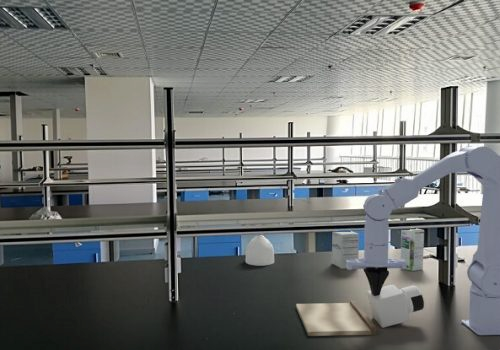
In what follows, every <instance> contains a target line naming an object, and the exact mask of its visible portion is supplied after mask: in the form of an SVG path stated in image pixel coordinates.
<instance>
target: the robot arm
mask: <svg viewBox="0 0 500 350" xmlns="http://www.w3.org/2000/svg"><path fill="white" fill-rule="evenodd" d="M457 173H458V174H460V173H462V174H463V173H465V174H468V175H470V176H472V177H473V178H474V179H475V180H477V182H478V183H480V184H481V186H482V187H483V188H482V189H483V190H482V200H481V210H480V220H479V230H478V240H477V249H476V251H475V252H474V254H473V255H472V260H471V263H470V264H469V265H468V268H467V270H466V275H467V277H468V279H469V281H470V282H471V285H470V287H469V309H468V310H469V311H468V313H469V315H468V319H461V323H462V324H463V325H465V326H466V327H467V328H469V329H470V330H471V331H473V332H474V333H475V334H477V335H478V336H497V335H498V336H500V155H499V154H498V153H496V151H494V150H493V149H492V148H490V147H489V146H484V145H483V146H482V145H481V146H471V145H470V146H464V147H462V148H461V149H459V150H456V151H453V152H451V153H450V154H448V155H446V156H445V157H443V158H441V159H439V160H438V161H436V162H435V163H433V164H432V165H430V166H429V167H427V168H426V169H425V170H423V171H421V172H420V173H418V174H417V175H414V176H413V177H412V178H411V177H407V176H403V177H397V178H394V182H393V183H391V184H390V185H388V186H386V187H384V188H383V189H382V188H379V189H378V190H377V193H375V194H371V195H369V196H367V198H366V199H365V200H364V203H363V204H362V205H363V210H364V212H365V219H364V221H365V224H364V240H363V241H364V245H363V246H364V251H363V253H364V254H363V258H358V259H355V260H346V268H345V269H347V271H350V270H351V271H352V270H363V272H364V274H365V276H366V278H367V281H368V285H369V288H370V289H369V290H371V293H372V294H373V295H374V296H378V295H380V292H381V289H382V287H384V284H385V282H386V281H387V278H389V275H390V271H389V270H388V269H402V270H407V269H406V261H405V260H403V259H401V258H400V259H399V258H398V259H396V258H389V240H390V239H389V236H390V235H389V234H390V227H389V217H390V215H392V211H396V210H398V209H400V208H402V206H404V205H406V204H408V203H409V202H411V201H413V200H415V199H417V198H418V197H419V193H420V190H421V189H423V188H425V187H427V186H428V185H431V184H433V183H435V182H436V181H439V180H440V179H442V178H444V177H446V176H448V175H449V174H457Z"/></svg>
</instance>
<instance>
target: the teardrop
mask: <svg viewBox="0 0 500 350" xmlns="http://www.w3.org/2000/svg"><path fill="white" fill-rule="evenodd" d="M245 263H246V264H248V265H251V266H263V267H264V266H269V265H273V264H274V263H275V250H274V246H273V244H272V243H271V241H269V239H268V238H266V237H265V236H264V235H263V234H262V235H259V236H257V235H255V237H253V238H251V240H250V241H249V243H248V244H247V245H246V248H245Z"/></svg>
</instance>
